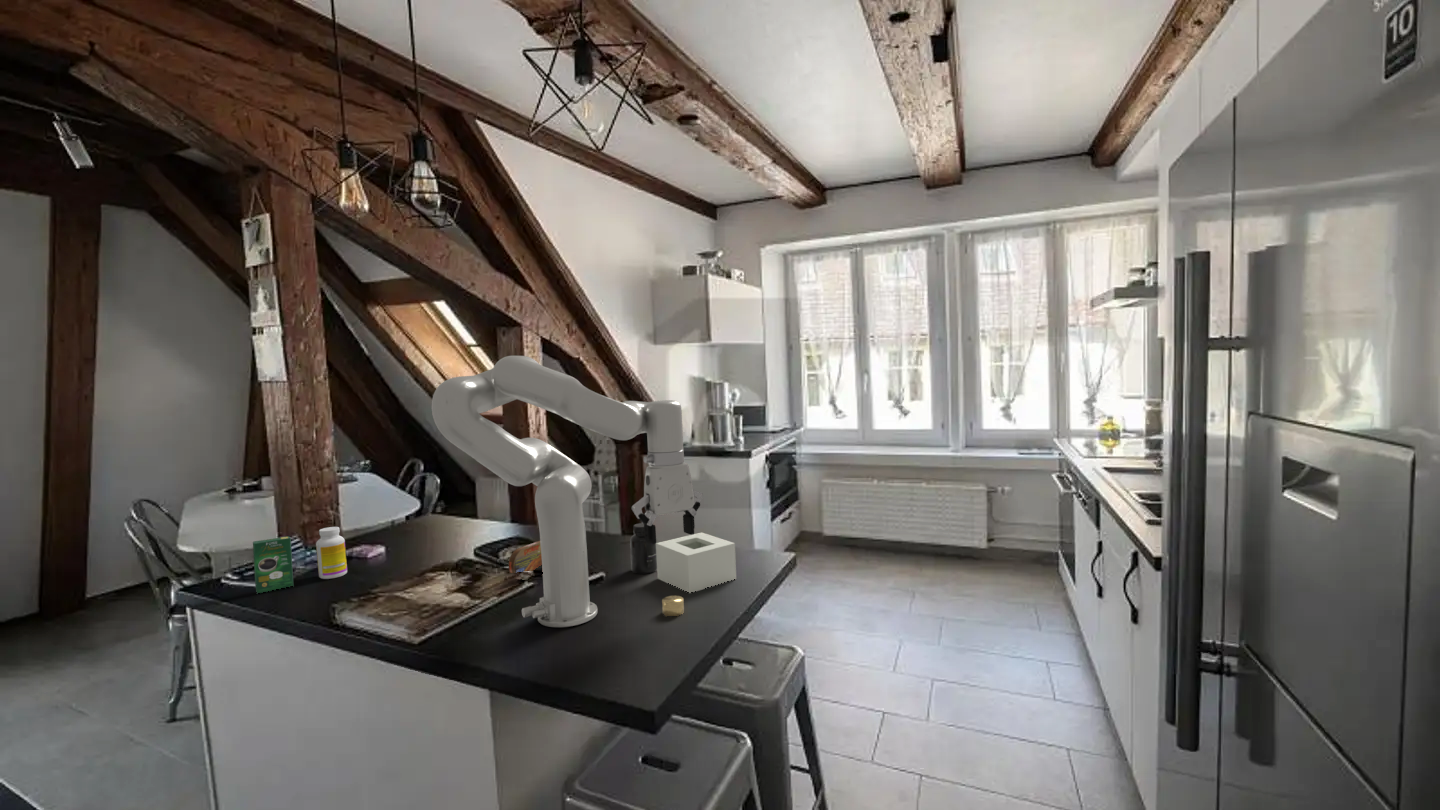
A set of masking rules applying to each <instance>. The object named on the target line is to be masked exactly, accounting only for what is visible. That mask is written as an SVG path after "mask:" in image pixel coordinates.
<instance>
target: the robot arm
mask: <svg viewBox="0 0 1440 810" xmlns="http://www.w3.org/2000/svg"><path fill="white" fill-rule="evenodd" d="M516 400H518V401H521V402H523V403H526V404H530V405H533V406H535V407H537V408H540V409H542V410H545V411H548V412H551V413H553V414H556V415H558V416H559V417H562V418H563V419H565V420H568V421H569V422H571V423H574V424H576V425H579V426H580V427H581V428H584V429H586V430H589V431H591V432H595V433H596V434H597V433H598V434H599V435H602V436H605V437H608V438H611V439H614V440H618V441H628V440H632V439H633V438H635V437H636V436H637V435H640V434H646V436H647V455H646V456H644V457H643V462H644V463H645V464H648V466H646V469H645V475H644V485H643V497H641V498H640V499H639V500H638V501H636V502H635V503H634V504H633V505H632V506H631V510H632V512H633V513H634V515H635V517H636V518H637V520H638V521H639V522H640V523H643V524H644V535H645V539H646V542H648V543H651V544H656V541H657V531H656V530H657V529H656V525H655V524H654V522H655V521H656V519H657V518H658V516H666V515H671V514H672V515H673V514H676V513H681V512H684V514H683V515H682V522H683V523H682V525H683V526H682V527H683V533H685V534H688V535H693V534H695V529H696V527H695V526H696V525H695V516H696V515H697V511H698V510H699V508H700V506H701V502H702V500H703V497H704V495H703V493H702V492H701V491H698V490H695V489H693V488H694V486H693V480H692V476H691V471H690V468H689V464H688V463H687V462H685V454H684V452H685V451H684V434H683V432H684V431H683V429H684V428H683V415H682V411H683V410H682V406H681V403H680V402H679V401H677V400H669V399H668V400H666V399H665V400H654V401H638V400H625V401H622V402H621V401H619V400H616V399H613V398H610V397H607V396H606V395H602V394H600V393H598V392H595V391H593V390H592V389H589V388H588V387H586V386H584V385H583V384H582V383H581V382H580V381H579V379H577V378H575V377H573V376H571V375H569V374H566V373H563V372H561V371H558V370H555V369H553V368H550V367H547V366H544V365H541V364H540V363H539V362H538V361H537V360H536V359H534V358H532V357H529V356H526V355H507V356H504V357H502V358H500V359H499V360H498V361H497V362H496V363H495V364H494V365H493V368H489V369H488V370H486V371H483V372H480V373H478V374H474V375H465V376H464V375H463V376H456V377H451V378H448V379H446V380H444V381H442V383H440V384H439V385H438V386H437V387H436V389H435V390H434V392H433V394H432V399H431V413H432V418H433V421H434V423H435V426H436V427H437V429H438V431H439V432H440V434H441V435H442V436H443V437H444V438H445V439H446V440H447V441H448V442H450V444H452V445H454V446H455V447H457V448H458V449H459V450H461V451H462V452H463V453H465V454H467V456H469V457H471V458H472V459H474V460H475V461H476V462H477V463H479V464H480V465H482V466H483V467H484V468H486V469H488V470H489V471H490V472H491V473H493V474H495V475H496V476H497V477H499V478H500V479H502V480H503V481H504V482H506V483H507V484H509V485H512V486H514V487H523V486H526V485H529V484H531V483H532V484H533V485H535V486H536V487H537V488H536V491H535V495H534V503H535V505H534V507H535V511H536V516H537V521H538V528H539V529H538V530H539V541H540V544H541V556H542V572H543V574H542V585H543V589H542V590H543V596H542V597H539V602H537V603H535V605H528V606H525V607H522V608H521V615H522V617H523V618H527V617H531V616H532V618H533V619H537V622H538V623H540V624H541V625H542V626H544V627H549V628H569V627H573V626H579V625H581V624H584V623H587V622H589V621H592V620H593V619H594V618H596V616H597V614H598V606H597V604H595V603H594V602H592V601H590V598H591V597H590V585H589V584H590V581H589V580H590V579H589V565H588V564H589V563H588V549H587V545H588V544H587V532H586V531H587V530H586V525H585V518H584V517H585V516H584V511H583V503H584V502H585V501H586V500H587V499H588V497H590V493H591V492H592V488H593V487H592V486H593V485H592V479H591V475H589V473H588V471H587V470H585V469H584V467H583V466H581V465H580V464H578V463H577V462H575V461H574V460H573V459H571V458H570V457H568V456H567V455H566V454H564V453H563V452H561V451H560V450H558V449H557V448H555V447H554V446H552V445H551V444H549V443H548V442H546V441H544V440H542V439H540V438H536V437H523V438H521V439H520V438H517V437H516V436H515V435H512V434H511V433H509V432H508V431H506V430H505V429H503V427H501V426H499V425H498V424H497V423H495V422H493V421H491V420H489V419H488V418H485V417H484V416H483V415H481V414H482V413H485V412H488V411H491V410H494V409H496V408H498V407H501V406H504V405H505V404H508V403H511V402H513V401H516ZM643 508H644V510H645V513H643V510H642V509H643Z"/></svg>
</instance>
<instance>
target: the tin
mask: <svg viewBox="0 0 1440 810" xmlns="http://www.w3.org/2000/svg"><path fill="white" fill-rule="evenodd" d="M541 565H542V556H541V544H540V540H538V541H535V542H533V543H530V544H527V545H524V546H522V547H518V548H516V549H515V550H514V551H513V552H512V553H511V554H510V556H509V558H508V572H509V574H510V573H517V572H523V571H533V570H535V569H536V568H538V567H539V566H541Z"/></svg>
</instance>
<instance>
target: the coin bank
mask: <svg viewBox="0 0 1440 810" xmlns="http://www.w3.org/2000/svg"><path fill="white" fill-rule="evenodd" d="M656 556H657V570H656V571H657V572H656V573H657V580H659V581H661V582H664V583H666V584H668V583H669V584H668V585H670V584H671V586H672V585H673V586H672V587H674V586H676V587H675V588H677V587H678V588H677V589H679V588H680V589H679V590H681V589H682V590H681V591H683V590H684V592H685V591H687V592H689V593H688V594H692V593H691V592H693V593H695V591H696V592H699V591H702V590H705V588H706V589H708V588H707V587H709V588H712V587H715V585H716V586H718V584H719V585H722V584H725V583H728V582H727V581H729V582H732V581H734V579H735V580H737V566H736V565H737V562H736V543H735V542H732V541H730V540H726V539H723V538H720V537H718V536H714V535H711V534H708V533H706V532H705V533H704V532H702V531H701V532H698V533H694V534H693V535H691V534H688V535H685V536H681V537H676V538H672V539H669V540H664V541H660V542H657V543H656ZM731 580H732V581H731ZM724 582H725V583H724ZM721 583H722V584H721ZM711 586H712V587H711ZM687 592H686V593H687Z"/></svg>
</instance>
